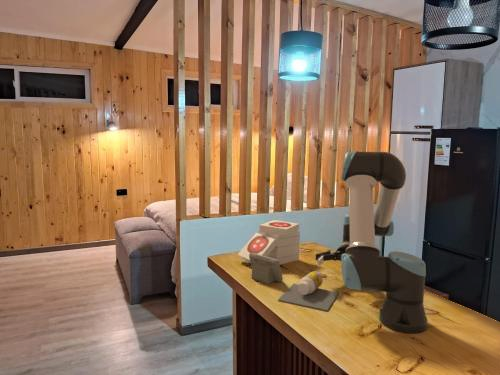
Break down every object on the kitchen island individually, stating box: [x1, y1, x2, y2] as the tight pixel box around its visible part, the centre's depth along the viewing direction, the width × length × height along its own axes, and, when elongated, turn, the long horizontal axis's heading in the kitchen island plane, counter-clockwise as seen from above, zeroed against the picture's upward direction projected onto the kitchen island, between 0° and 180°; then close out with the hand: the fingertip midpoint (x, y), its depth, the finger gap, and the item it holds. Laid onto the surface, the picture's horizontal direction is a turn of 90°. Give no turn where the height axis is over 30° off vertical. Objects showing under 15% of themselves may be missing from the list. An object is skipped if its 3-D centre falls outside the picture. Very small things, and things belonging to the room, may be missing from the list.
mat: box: [277, 283, 340, 312], centre depth 146 cm, size 18×19×1 cm
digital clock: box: [249, 253, 284, 285], centre depth 164 cm, size 16×9×11 cm, turn 38°
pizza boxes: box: [237, 219, 301, 265], centre depth 188 cm, size 19×30×18 cm, turn 127°
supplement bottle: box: [298, 270, 324, 295], centre depth 150 cm, size 7×7×13 cm
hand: (334, 266), depth 150 cm, fingers open, 13 cm apart
